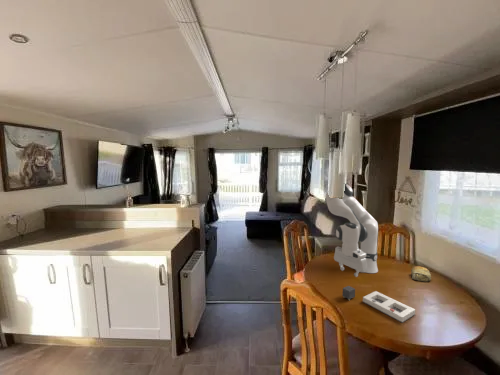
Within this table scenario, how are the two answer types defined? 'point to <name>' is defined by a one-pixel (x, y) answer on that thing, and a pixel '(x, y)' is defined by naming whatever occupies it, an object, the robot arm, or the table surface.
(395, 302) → the socket board
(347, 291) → the plug
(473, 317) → the table surface
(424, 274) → the pastry
